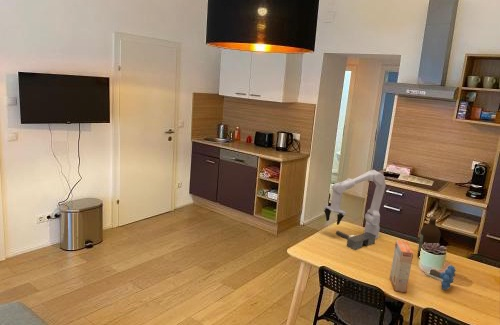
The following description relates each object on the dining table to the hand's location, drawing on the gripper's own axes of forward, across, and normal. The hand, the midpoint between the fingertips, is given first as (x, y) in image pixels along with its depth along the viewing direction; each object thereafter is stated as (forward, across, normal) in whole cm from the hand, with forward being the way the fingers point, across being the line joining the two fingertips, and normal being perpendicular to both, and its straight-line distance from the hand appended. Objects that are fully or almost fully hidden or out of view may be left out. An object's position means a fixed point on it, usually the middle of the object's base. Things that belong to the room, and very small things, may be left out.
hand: (332, 222), depth 242 cm
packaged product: (+9, +65, +4) cm, 66 cm away
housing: (+9, +19, +4) cm, 21 cm away
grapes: (+8, +71, -10) cm, 73 cm away
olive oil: (+8, +53, +19) cm, 57 cm away
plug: (+9, +8, +6) cm, 14 cm away
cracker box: (+9, +54, -26) cm, 61 cm away
